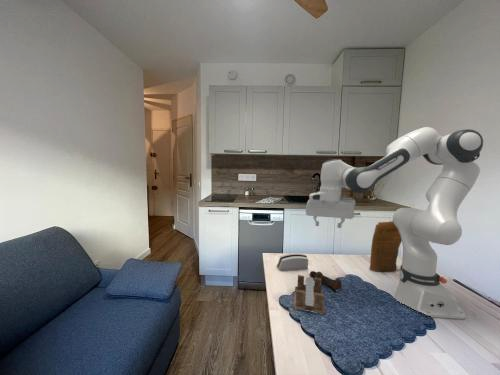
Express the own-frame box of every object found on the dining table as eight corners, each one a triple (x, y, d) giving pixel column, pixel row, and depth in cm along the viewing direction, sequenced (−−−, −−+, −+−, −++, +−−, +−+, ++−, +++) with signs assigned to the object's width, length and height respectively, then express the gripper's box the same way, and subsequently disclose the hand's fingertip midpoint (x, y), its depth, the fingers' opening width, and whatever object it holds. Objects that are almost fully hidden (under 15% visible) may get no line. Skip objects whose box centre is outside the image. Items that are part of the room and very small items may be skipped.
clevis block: (322, 292, 97) (323, 277, 96) (325, 315, 82) (326, 297, 82) (295, 288, 100) (295, 273, 99) (292, 309, 86) (293, 292, 85)
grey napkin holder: (304, 264, 124) (307, 250, 120) (307, 270, 120) (311, 257, 116) (276, 265, 122) (278, 252, 117) (278, 272, 117) (280, 258, 113)
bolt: (311, 280, 111) (339, 293, 99) (306, 278, 108) (333, 291, 96) (315, 269, 112) (342, 280, 101) (310, 266, 110) (337, 278, 98)
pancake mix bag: (405, 272, 117) (410, 221, 114) (372, 274, 115) (376, 222, 112) (395, 266, 124) (400, 218, 121) (364, 267, 121) (368, 218, 118)
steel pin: (312, 284, 98) (313, 277, 98) (313, 306, 83) (313, 299, 82) (305, 283, 99) (306, 276, 99) (305, 304, 84) (305, 297, 83)
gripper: (354, 196, 97) (351, 226, 98) (306, 193, 102) (305, 222, 103) (357, 198, 91) (354, 230, 92) (306, 195, 96) (304, 226, 97)
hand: (328, 226), depth 98 cm, fingers open, 8 cm apart
